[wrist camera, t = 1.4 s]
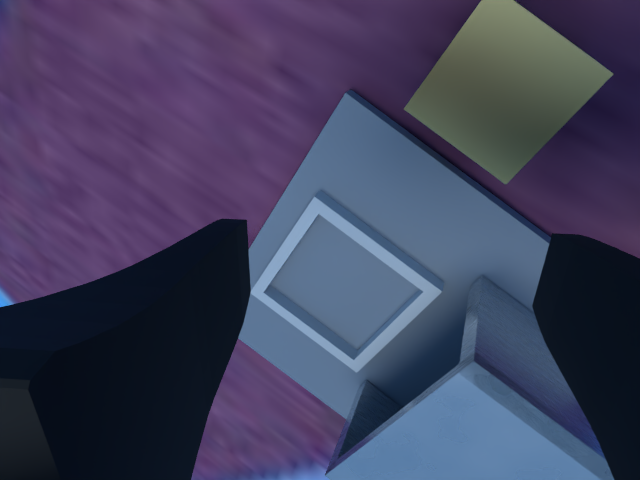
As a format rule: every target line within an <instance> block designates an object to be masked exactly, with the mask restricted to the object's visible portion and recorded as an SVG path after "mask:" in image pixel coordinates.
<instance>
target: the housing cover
mask: <svg viewBox="0 0 640 480" xmlns="http://www.w3.org/2000/svg"><path fill="white" fill-rule="evenodd" d="M325 476H326V477H327V478H329V479H330V480H614V478H613V476H612V473H611V471H610V468H609V466H608V463H607V461H606V459H605V456H604V454H603V451H602V449H601V447H600V444H599V442H598V440H597V438H596V436H595V434H594V432H593V430H592V428H591V426H590V424H589V422H588V420H587V418H586V416H585V415H584V413H583V411H582V409H581V407H580V406H579V404H578V402H577V400H576V398H575V397H574V395H573V393H572V391H571V389H570V388H569V386H568V384H567V382H566V380H565V379H564V377H563V375H562V373H561V371H560V370H559V368H558V366H557V364H556V362H555V360H554V358H553V357H552V355H551V353H550V351H549V349H548V347H547V345H546V343H545V341H544V339H543V336H542V334H541V331H540V328H539V326H538V323H537V320H536V317H535V314H534V313H532V312H531V311H530V310H528V309H527V308H526V307H524V306H523V305H522V304H520V303H519V302H517V301H516V300H515V299H513V298H512V297H511V296H509V295H508V294H507V293H505V292H504V291H503V290H501V289H500V288H499V287H497V286H496V285H495V284H493V283H492V282H491V281H489V280H488V279H487V278H485V277H484V276H483V275H482V276H480V277H479V278H478V279H477V280H476V281H475V282H474V283H473V284H472V285H471V286H470V289H469V296H468V304H467V311H466V319H465V326H464V333H463V341H462V348H461V356H460V363H459V364H458V365H457V366H456V367H454V368H453V369H452V370H451V371H449V372H448V373H447V374H445V375H444V376H443V377H442V378H440V379H439V380H438V381H437V382H435V383H434V384H433V385H431V386H430V387H429V388H428V389H426V390H425V391H424V392H423V393H421V394H420V395H419V396H417V397H416V398H415V399H414V400H412V401H411V402H410V403H409V404H407V405H406V406H405V407H401V406H400V405H399V404H397V403H396V402H395V401H393V400H392V399H391V398H389V397H388V396H387V395H385V394H384V393H383V392H381V391H380V390H379V389H377V388H376V387H375V386H373V385H372V384H371V383H369V382H368V381H367V380H366V381H365V382H364V383H363V384H362V385H361V386H360V387H359V388H358V390H357V393H356V396H355V398H354V401H353V403H352V406H351V409H350V411H349V414H348V416H347V419H346V422H345V424H344V427H343V429H342V432H341V435H340V437H339V440H338V443H337V445H336V448H335V450H334V453H333V456H332V458H331V461H330V463H329V466H328V469H327V471H326V474H325Z"/></svg>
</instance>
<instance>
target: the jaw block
mask: <svg viewBox="0 0 640 480" xmlns="http://www.w3.org/2000/svg"><path fill="white" fill-rule="evenodd" d="M612 75H613V73H612V72H610V71H609V70H608V69H607V68H605V67H604V66H603V65H601V64H600V63H599V62H597V61H596V60H595V59H593V58H592V57H591V56H589V55H588V54H587V53H585V52H584V51H583V50H581V49H580V48H579V47H577V46H576V45H575V44H573V43H572V42H570V41H569V40H568V39H566V38H565V37H564V36H562V35H561V34H560V33H558V32H557V31H555V30H554V29H553V28H551V27H550V26H549V25H547V24H546V23H545V22H543V21H542V20H540V19H539V18H538V17H536V16H535V15H534V14H532V13H531V12H530V11H528V10H527V9H525V8H524V7H523V6H521V5H520V4H519V3H517V2H516V1H515V0H481V2H480V3H479V4H478V6H477V7H476V9H475V10H474V11H473V13H472V14H471V16H470V17H469V18H468V20H467V21H466V23H465V24H464V25H463V27H462V28H461V30H460V31H459V32H458V34H457V35H456V37H455V38H454V39H453V41H452V42H451V44H450V45H449V46H448V48H447V49H446V51H445V52H444V53H443V55H442V56H441V58H440V59H439V60H438V62H437V63H436V65H435V66H434V67H433V69H432V70H431V72H430V73H429V74H428V76H427V77H426V79H425V80H424V81H423V83H422V84H421V85H420V87H419V88H418V90H417V91H416V92H415V94H414V95H413V97H412V98H411V99H410V101H409V102H408V104H407V105H406V106H405V108H404V110H406V111H407V112H408V113H410V114H411V115H412V116H414V117H415V118H416V119H418V120H419V121H420V122H422V123H423V124H424V125H426V126H427V127H428V128H430V129H431V130H433V131H434V132H435V133H437V134H438V135H439V136H441V137H442V138H443V139H445V140H446V141H447V142H449V143H450V144H451V145H453V146H454V147H456V148H457V149H458V150H460V151H461V152H462V153H464V154H465V155H466V156H468V157H469V158H470V159H472V160H473V161H474V162H476V163H477V164H478V165H480V166H481V167H483V168H484V169H485V170H487V171H488V172H489V173H491V174H492V175H493V176H495V177H496V178H497V179H499V180H500V181H501V182H503V183H504V184H507V183H508V182H509V181H510V180H511V179H512V178H513V177H514V176H515V175H516V174H517V173H518V172H519V171H520V170H521V169H522V168H523V167H524V166H525V165H526V164H527V163H528V162H529V161H530V160H531V158H532V157H533V156H534V155H535V154H536V153H537V152H538V151H539V150H540V149H541V148H542V147H543V146H544V145H545V144H546V143H547V142H548V141H549V140H550V139H551V138H552V137H553V136H554V135H555V134H556V133H557V132H558V131H559V130H560V129H561V128H562V127H563V126H564V125H565V124H566V123H567V122H568V120H569V119H570V118H571V117H572V116H573V115H574V114H575V113H576V112H577V111H578V110H579V109H580V108H581V107H582V106H583V105H584V104H585V103H586V102H587V101H588V100H589V99H590V98H591V97H592V96H593V95H594V94H595V93H596V92H597V91H598V90H599V89H600V88H601V87H602V86H603V85H604V84H605V82H606V81H607V80H608V79H609V78H610V77H611V76H612Z"/></svg>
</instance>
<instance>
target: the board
mask: <svg viewBox="0 0 640 480" xmlns="http://www.w3.org/2000/svg"><path fill="white" fill-rule="evenodd" d="M550 240H551V237H550V236H548V235H547V234H545V233H544V232H543V231H541V230H540V229H539V228H537V227H536V226H535V225H533V224H532V223H531V222H529V221H528V220H527V219H525V218H524V217H523V216H521V215H520V214H519V213H517V212H516V211H514V210H513V209H512V208H510V207H509V206H508V205H506V204H505V203H504V202H502V201H501V200H500V199H498V198H497V197H496V196H494V195H493V194H492V193H490V192H489V191H487V190H486V189H485V188H483V187H482V186H481V185H479V184H478V183H477V182H475V181H474V180H473V179H471V178H470V177H469V176H467V175H466V174H465V173H463V172H462V171H460V170H459V169H458V168H456V167H455V166H454V165H452V164H451V163H450V162H448V161H447V160H446V159H444V158H443V157H442V156H440V155H439V154H438V153H436V152H435V151H433V150H432V149H431V148H429V147H428V146H427V145H425V144H424V143H423V142H421V141H420V140H419V139H417V138H416V137H415V136H413V135H412V134H411V133H409V132H408V131H407V130H405V129H404V128H402V127H401V126H400V125H398V124H397V123H396V122H394V121H393V120H392V119H390V118H389V117H388V116H386V115H385V114H384V113H382V112H381V111H380V110H378V109H377V108H375V107H374V106H373V105H371V104H370V103H369V102H367V101H366V100H365V99H363V98H362V97H361V96H359V95H358V94H357V93H355V92H354V91H353V90H349V91H348V92H346V93H345V94H344V96H343V98H342V99H341V101H340V103H339V104H338V106H337V107H336V109H335V111H334V112H333V114H332V115H331V117H330V119H329V120H328V122H327V124H326V125H325V127H324V128H323V130H322V132H321V133H320V135H319V137H318V138H317V140H316V141H315V143H314V145H313V146H312V148H311V150H310V151H309V153H308V154H307V156H306V158H305V159H304V161H303V163H302V164H301V166H300V167H299V169H298V171H297V172H296V174H295V176H294V177H293V179H292V180H291V182H290V184H289V185H288V187H287V188H286V190H285V192H284V193H283V195H282V197H281V198H280V200H279V201H278V203H277V205H276V206H275V208H274V210H273V211H272V213H271V214H270V216H269V218H268V219H267V221H266V223H265V224H264V226H263V227H262V229H261V231H260V232H259V234H258V236H257V237H256V239H255V240H254V242H253V244H252V245H251V247H250V248H249V250H248V251H249V268H250V285H251V293H250V298H249V302H248V307H247V311H246V315H245V319H244V323H243V326H242V329H241V332H240V334H239V337H238V338H239V339H240V340H241V341H243V342H244V343H245V344H247V345H248V346H249V347H251V348H252V349H253V350H255V351H256V352H257V353H259V354H260V355H261V356H263V357H264V358H265V359H267V360H268V361H269V362H271V363H272V364H273V365H275V366H276V367H277V368H279V369H280V370H281V371H283V372H284V373H285V374H287V375H288V376H289V377H291V378H292V379H293V380H295V381H296V382H297V383H299V384H300V385H301V386H303V387H304V388H305V389H307V390H308V391H309V392H311V393H312V394H313V395H315V396H316V397H317V398H319V399H320V400H321V401H323V402H324V403H325V404H327V405H328V406H329V407H331V408H332V409H333V410H335V411H336V412H337V413H339V414H340V415H341V416H343V417H344V418H345V419H347V416H348V414H349V411H350V409H351V406H352V403H353V401H354V398H355V396H356V393H357V390H358V388H359V387H360V386H361V385H362V384H363V383H364V382H365V381H366V380H367V381H368V382H369V383H371V384H372V385H373V386H375V387H376V388H377V389H379V390H380V391H381V392H383V393H384V394H385V395H387V396H388V397H389V398H391V399H392V400H393V401H395V402H396V403H397V404H399V405H400V406H401V407H405V406H406V405H407V404H409V403H410V402H411V401H412V400H414V399H415V398H416V397H417V396H419V395H420V394H421V393H423V392H424V391H425V390H426V389H428V388H429V387H430V386H431V385H433V384H434V383H435V382H437V381H438V380H439V379H440V378H442V377H443V376H444V375H445V374H447V373H448V372H449V371H451V370H452V369H453V368H454V367H456V366H457V365H458V364H459V363H460V356H461V348H462V341H463V333H464V326H465V319H466V311H467V304H468V296H469V289H470V286H471V285H472V284H473V283H474V282H475V281H476V280H477V279H478V278H479V277H480V276H482V275H483V276H484V277H485V278H487V279H488V280H489V281H491V282H492V283H493V284H495V285H496V286H497V287H499V288H500V289H501V290H503V291H504V292H505V293H507V294H508V295H509V296H511V297H512V298H513V299H515V300H516V301H517V302H519V303H520V304H522V305H523V306H524V307H526V308H527V309H528V310H530V311H531V312H532V313H534V311H533V308H532V304H533V301H534V297H535V294H536V290H537V286H538V283H539V279H540V276H541V272H542V269H543V265H544V261H545V258H546V254H547V251H548V247H549V243H550Z"/></svg>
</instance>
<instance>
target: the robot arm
mask: <svg viewBox="0 0 640 480" xmlns="http://www.w3.org/2000/svg"><path fill="white" fill-rule="evenodd" d="M250 293H251V285H250V268H249V251H248V234H247V220H238V219H220V220H217V221H215V222H213V223H211V224H209V225H207V226H205V227H204V228H202V229H200V230H198V231H197V232H195V233H193V234H191V235H190V236H188V237H186V238H184V239H182V240H181V241H179V242H177V243H175V244H174V245H172V246H170V247H168V248H166V249H164V250H162V251H160V252H158V253H156V254H154V255H152V256H150V257H148V258H146V259H144V260H142V261H140V262H138V263H136V264H134V265H132V266H130V267H127V268H125V269H123V270H120V271H118V272H116V273H113V274H110V275H108V276H105V277H103V278H100V279H97V280H95V281H92V282H89V283H86V284H83V285H80V286H77V287H73V288H70V289H67V290H64V291H60V292H57V293H54V294H51V295H47V296H44V297H41V298H37V299H33V300H29V301H25V302H21V303H17V304H13V305H9V306H4V307H0V480H191V477H192V473H193V469H194V465H195V461H196V457H197V454H198V450H199V446H200V443H201V439H202V435H203V432H204V428H205V425H206V421H207V417H208V414H209V411H210V408H211V406H212V403H213V400H214V397H215V395H216V392H217V390H218V387H219V385H220V382H221V380H222V377H223V375H224V372H225V370H226V367H227V365H228V362H229V360H230V357H231V355H232V352H233V350H234V347H235V344H236V342H237V339H238V337H239V334H240V332H241V329H242V326H243V323H244V319H245V315H246V311H247V307H248V302H249V298H250ZM532 308H533V311H534V314H535V317H536V320H537V323H538V326H539V328H540V331H541V334H542V336H543V339H544V341H545V343H546V345H547V347H548V349H549V351H550V353H551V355H552V357H553V358H554V360H555V362H556V364H557V366H558V368H559V370H560V371H561V373H562V375H563V377H564V379H565V380H566V382H567V384H568V386H569V388H570V389H571V391H572V393H573V395H574V397H575V398H576V400H577V402H578V404H579V406H580V407H581V409H582V411H583V413H584V415H585V416H586V418H587V420H588V422H589V424H590V426H591V428H592V430H593V432H594V434H595V436H596V438H597V440H598V442H599V444H600V447H601V449H602V451H603V454H604V456H605V459H606V461H607V463H608V466H609V468H610V471H611V473H612V476H613V478H614V480H640V259H639V258H637V257H635V256H632V255H630V254H628V253H626V252H623V251H621V250H619V249H617V248H614V247H612V246H610V245H607V244H605V243H603V242H600V241H597V240H595V239H592V238H589V237H586V236H582V235H575V234H553V233H552V236H551V240H550V243H549V247H548V251H547V254H546V258H545V261H544V265H543V269H542V272H541V276H540V279H539V283H538V286H537V290H536V294H535V297H534V301H533V304H532Z"/></svg>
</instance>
